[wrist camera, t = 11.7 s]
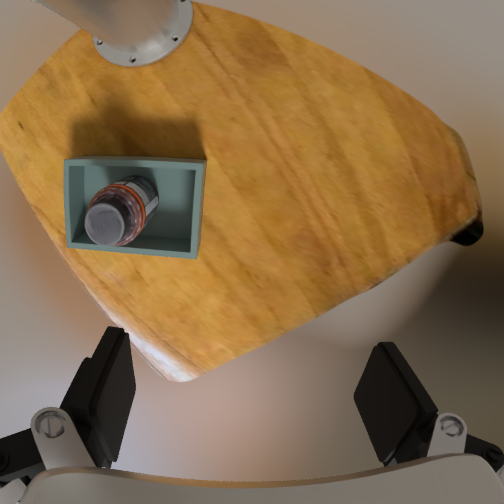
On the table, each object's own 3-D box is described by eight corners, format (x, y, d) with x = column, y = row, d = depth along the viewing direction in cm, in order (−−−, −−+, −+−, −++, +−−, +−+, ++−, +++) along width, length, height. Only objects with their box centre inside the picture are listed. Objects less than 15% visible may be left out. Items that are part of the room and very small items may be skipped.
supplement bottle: (130, 230, 37) (96, 268, 26) (106, 190, 35) (62, 214, 24) (169, 207, 36) (146, 238, 26) (145, 164, 34) (111, 179, 24)
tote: (82, 155, 33) (63, 159, 29) (206, 159, 35) (203, 163, 31) (83, 234, 37) (67, 247, 33) (200, 243, 39) (196, 259, 34)
